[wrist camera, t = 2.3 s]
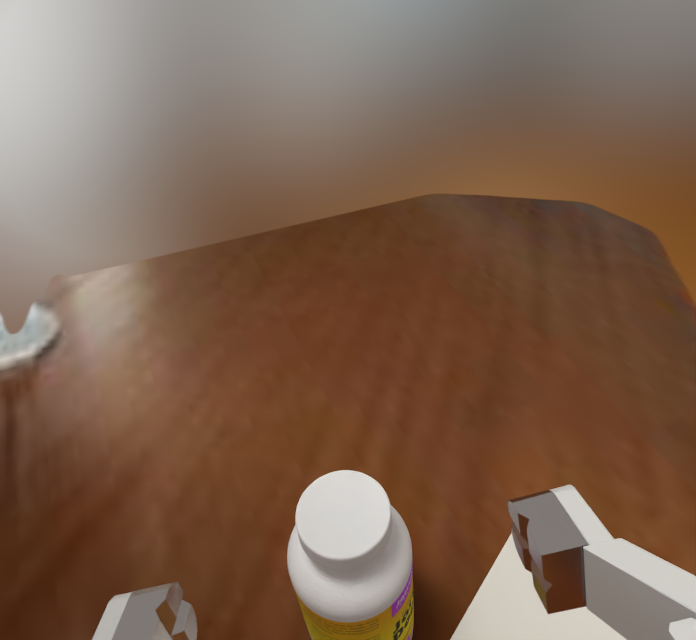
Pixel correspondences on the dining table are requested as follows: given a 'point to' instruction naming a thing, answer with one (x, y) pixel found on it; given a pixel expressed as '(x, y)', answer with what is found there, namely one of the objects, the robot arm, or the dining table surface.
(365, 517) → the supplement bottle
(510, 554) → the off-white mat
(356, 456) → the dining table surface
